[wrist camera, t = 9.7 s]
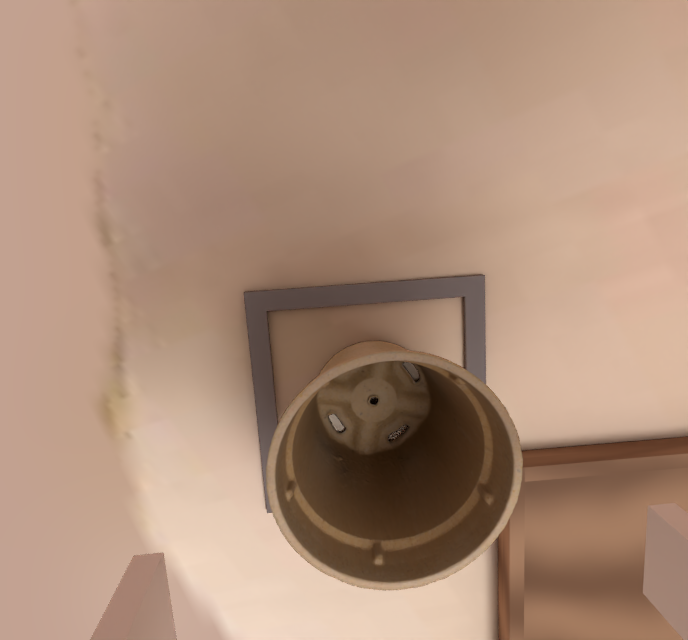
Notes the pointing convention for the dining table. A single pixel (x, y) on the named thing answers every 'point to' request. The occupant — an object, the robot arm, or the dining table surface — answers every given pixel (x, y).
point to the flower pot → (393, 468)
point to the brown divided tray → (586, 541)
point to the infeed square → (353, 295)
